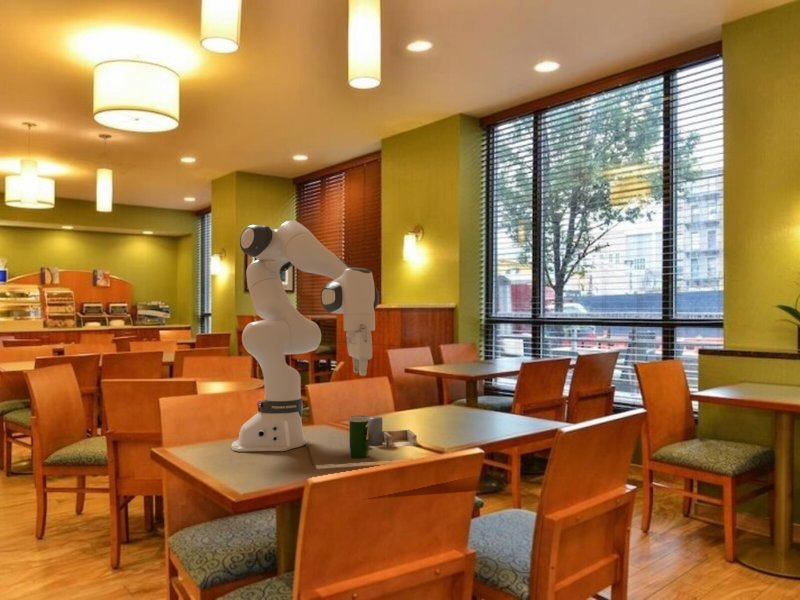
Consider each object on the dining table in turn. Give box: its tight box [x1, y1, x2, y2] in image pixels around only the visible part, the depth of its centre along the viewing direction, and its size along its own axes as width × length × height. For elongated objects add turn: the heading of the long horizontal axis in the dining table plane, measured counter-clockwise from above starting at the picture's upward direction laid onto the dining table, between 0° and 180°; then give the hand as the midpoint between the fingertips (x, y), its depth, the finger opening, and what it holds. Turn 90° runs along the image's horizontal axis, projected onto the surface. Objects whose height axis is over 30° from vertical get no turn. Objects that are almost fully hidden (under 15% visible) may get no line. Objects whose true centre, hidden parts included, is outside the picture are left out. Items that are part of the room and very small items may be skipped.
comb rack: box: [369, 429, 418, 449], centre depth 182 cm, size 16×9×4 cm, turn 103°
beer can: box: [348, 414, 370, 460], centre depth 166 cm, size 5×5×12 cm
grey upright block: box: [368, 416, 383, 446], centre depth 181 cm, size 5×5×8 cm
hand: (359, 374), depth 167 cm, fingers open, 8 cm apart
